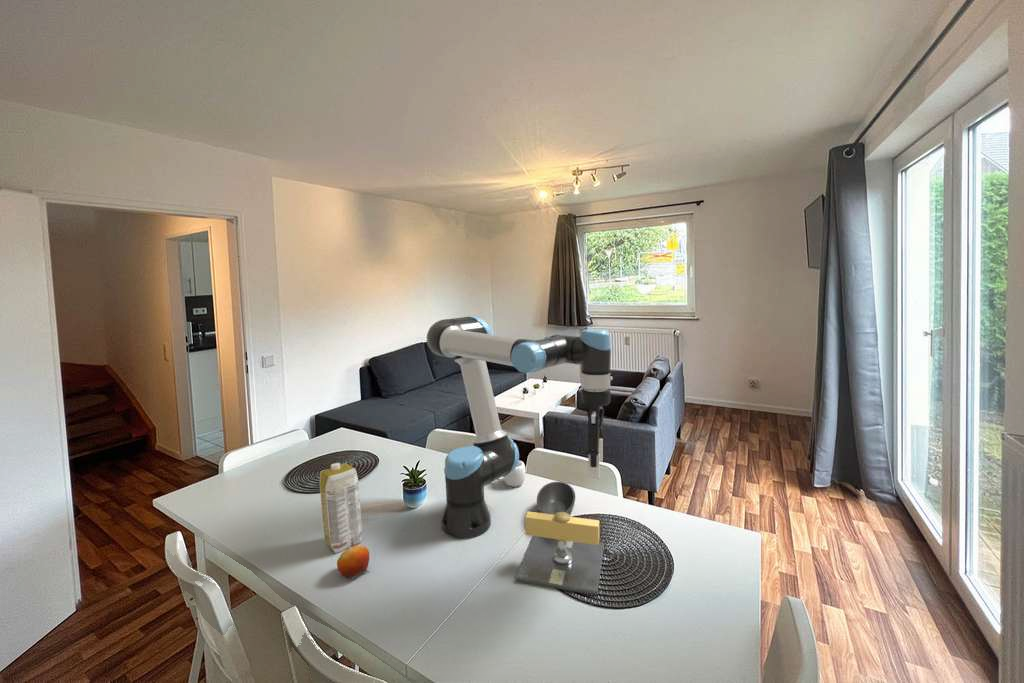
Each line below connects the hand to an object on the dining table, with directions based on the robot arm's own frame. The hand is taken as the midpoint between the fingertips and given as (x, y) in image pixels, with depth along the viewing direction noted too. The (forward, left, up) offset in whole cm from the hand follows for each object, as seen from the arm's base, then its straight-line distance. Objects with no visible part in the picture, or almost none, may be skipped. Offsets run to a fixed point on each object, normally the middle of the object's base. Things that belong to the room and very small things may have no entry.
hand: (595, 468), depth 116 cm
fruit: (-60, -25, -24) cm, 69 cm away
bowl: (-14, +15, -24) cm, 32 cm away
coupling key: (-8, -8, -16) cm, 20 cm away
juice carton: (-71, -15, -24) cm, 76 cm away
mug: (-35, +33, -24) cm, 54 cm away
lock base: (-8, -8, -24) cm, 26 cm away
